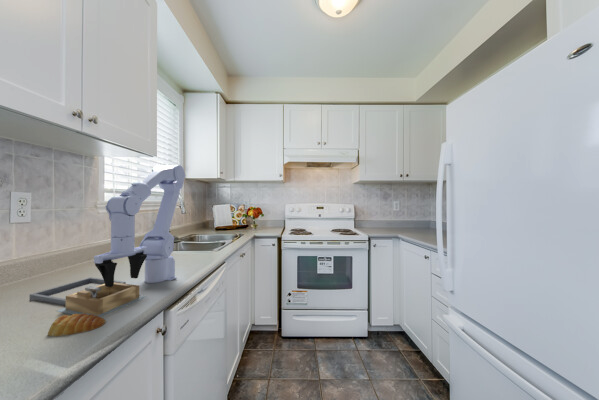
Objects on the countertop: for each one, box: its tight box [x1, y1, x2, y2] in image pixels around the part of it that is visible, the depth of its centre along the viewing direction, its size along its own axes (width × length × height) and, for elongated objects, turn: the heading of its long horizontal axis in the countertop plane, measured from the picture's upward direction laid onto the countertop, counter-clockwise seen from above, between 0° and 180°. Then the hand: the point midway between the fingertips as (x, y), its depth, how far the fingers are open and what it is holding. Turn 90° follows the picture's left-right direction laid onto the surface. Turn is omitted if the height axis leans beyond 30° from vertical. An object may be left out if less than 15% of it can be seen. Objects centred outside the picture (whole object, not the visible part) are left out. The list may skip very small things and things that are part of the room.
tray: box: [28, 277, 127, 306], centre depth 75 cm, size 16×16×2 cm
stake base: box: [56, 294, 147, 318], centre depth 67 cm, size 14×14×1 cm
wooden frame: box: [65, 282, 140, 315], centre depth 67 cm, size 11×11×5 cm
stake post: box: [84, 286, 101, 298], centre depth 64 cm, size 2×4×5 cm, turn 74°
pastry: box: [47, 313, 106, 337], centre depth 55 cm, size 9×7×4 cm
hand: (122, 281), depth 72 cm, fingers open, 7 cm apart
